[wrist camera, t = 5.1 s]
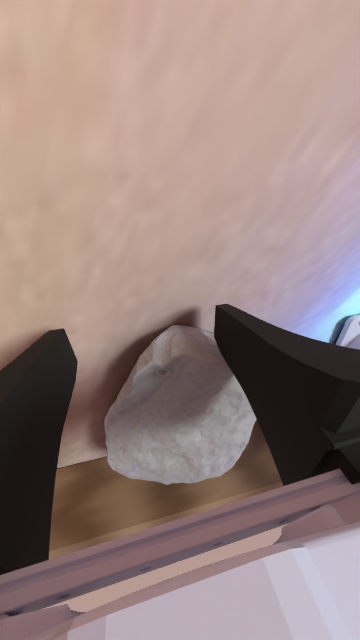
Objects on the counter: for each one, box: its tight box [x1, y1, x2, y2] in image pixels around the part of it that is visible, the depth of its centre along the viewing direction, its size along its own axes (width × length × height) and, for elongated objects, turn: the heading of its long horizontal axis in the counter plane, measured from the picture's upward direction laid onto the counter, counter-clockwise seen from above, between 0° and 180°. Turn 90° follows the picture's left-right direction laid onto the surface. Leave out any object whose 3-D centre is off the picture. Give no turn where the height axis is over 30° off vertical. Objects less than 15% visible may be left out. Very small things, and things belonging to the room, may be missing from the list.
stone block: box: [104, 325, 256, 485], centre depth 15 cm, size 12×5×10 cm
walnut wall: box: [49, 420, 283, 560], centre depth 18 cm, size 24×2×5 cm, turn 93°
